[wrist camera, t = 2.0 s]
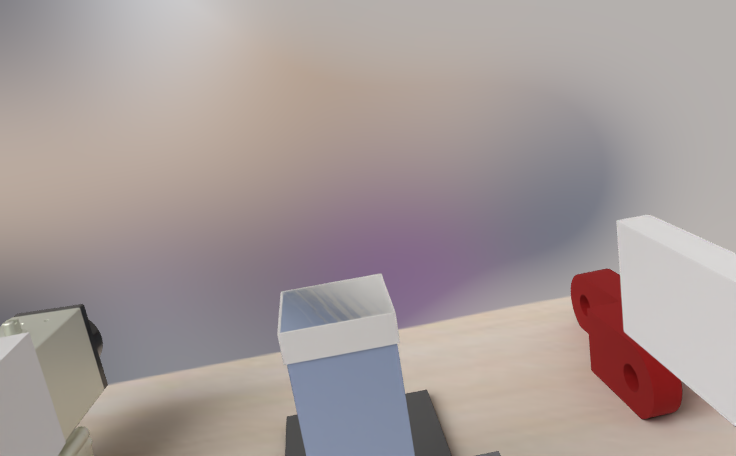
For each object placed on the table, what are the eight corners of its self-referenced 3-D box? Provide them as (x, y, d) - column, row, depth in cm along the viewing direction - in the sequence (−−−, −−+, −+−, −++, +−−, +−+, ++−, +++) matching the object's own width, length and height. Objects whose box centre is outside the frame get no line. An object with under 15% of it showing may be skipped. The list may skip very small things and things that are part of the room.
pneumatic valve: (132, 432, 48) (87, 280, 45) (59, 552, 37) (-7, 361, 33) (59, 442, 48) (10, 292, 45) (-35, 564, 37) (-110, 376, 34)
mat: (284, 523, 36) (282, 514, 36) (288, 424, 46) (286, 416, 45) (461, 487, 37) (460, 479, 36) (428, 397, 46) (426, 389, 46)
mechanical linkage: (765, 409, 39) (766, 334, 38) (655, 434, 39) (652, 359, 37) (626, 310, 55) (623, 254, 53) (545, 328, 54) (541, 272, 53)
